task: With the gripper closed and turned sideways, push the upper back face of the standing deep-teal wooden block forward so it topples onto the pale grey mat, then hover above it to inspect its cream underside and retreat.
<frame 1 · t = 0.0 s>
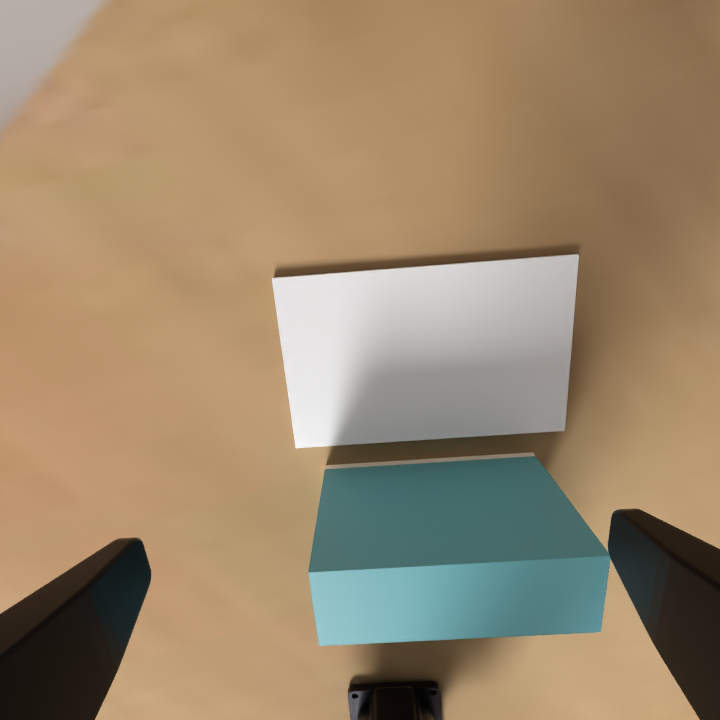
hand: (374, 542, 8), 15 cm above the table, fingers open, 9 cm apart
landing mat: (425, 356, 22), on the table
teal block: (429, 487, 25), on the table
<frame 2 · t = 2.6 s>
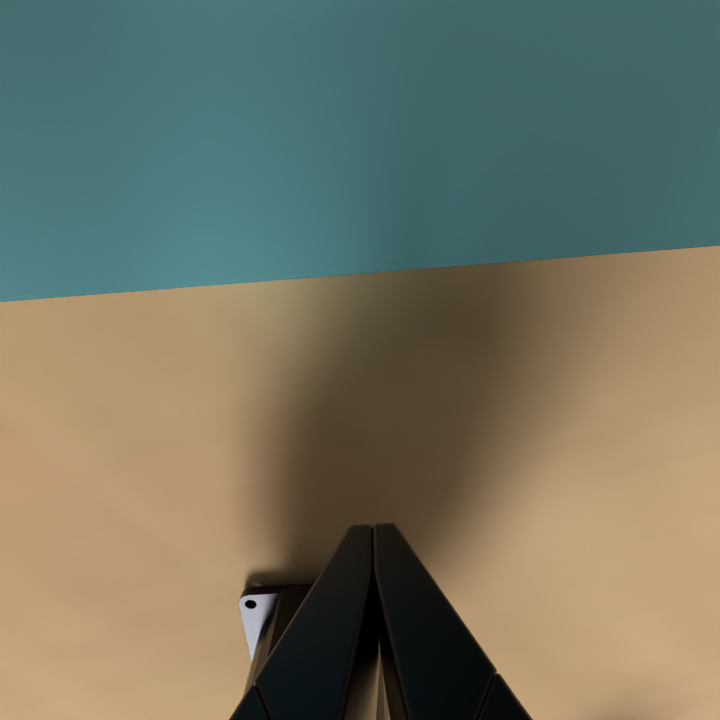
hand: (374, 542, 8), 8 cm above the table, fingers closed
teal block: (354, 179, 13), on the table
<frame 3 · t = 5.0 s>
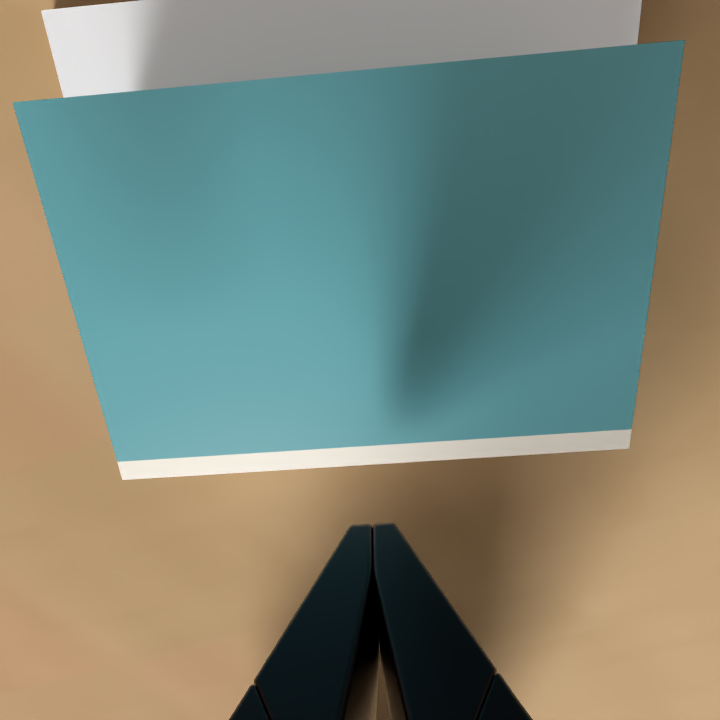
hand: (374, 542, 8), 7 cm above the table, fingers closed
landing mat: (353, 189, 12), on the table
teal block: (369, 425, 12), point 2 cm above the table, tilted 90°, touching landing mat
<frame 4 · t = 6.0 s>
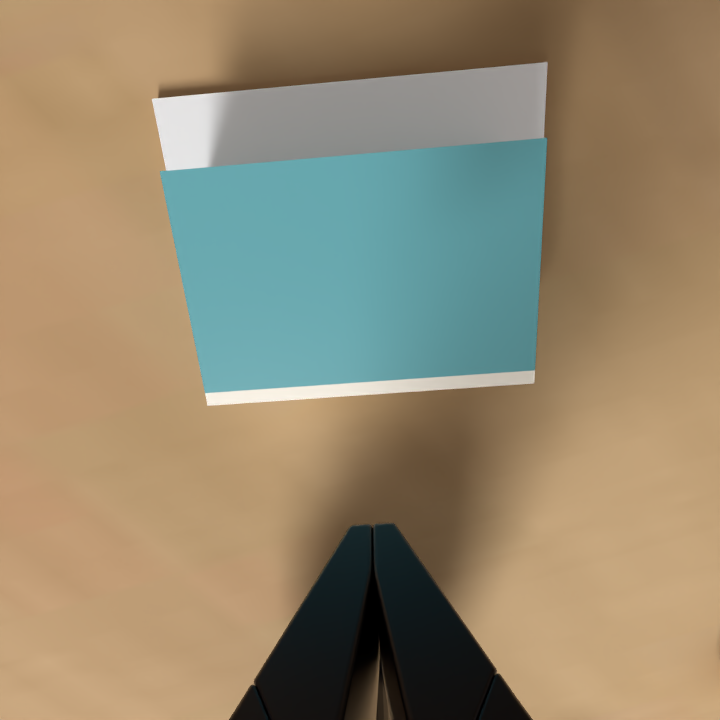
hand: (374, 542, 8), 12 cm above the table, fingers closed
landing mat: (356, 213, 17), on the table
teal block: (368, 376, 17), point 2 cm above the table, tilted 90°, touching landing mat
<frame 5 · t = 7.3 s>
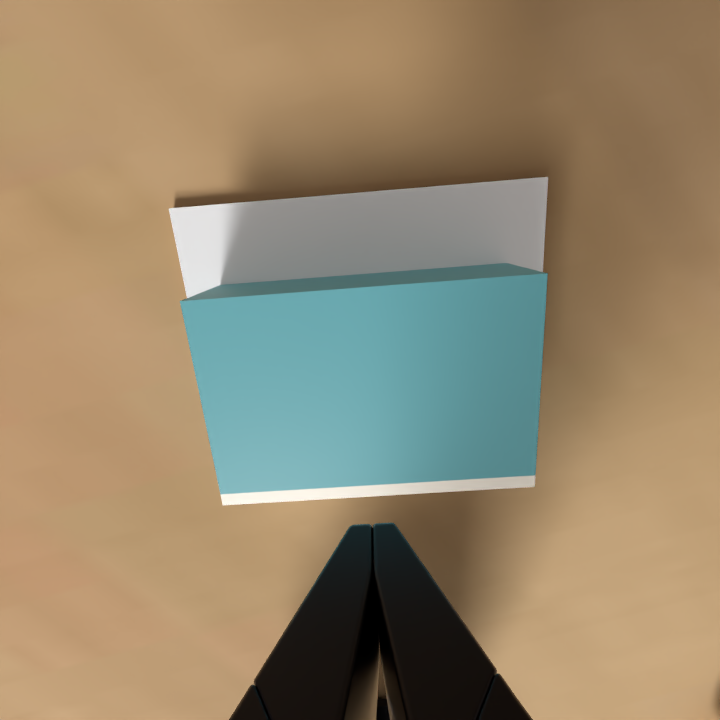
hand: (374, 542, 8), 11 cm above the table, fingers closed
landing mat: (364, 309, 18), on the table
teal block: (375, 467, 18), point 2 cm above the table, tilted 90°, touching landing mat
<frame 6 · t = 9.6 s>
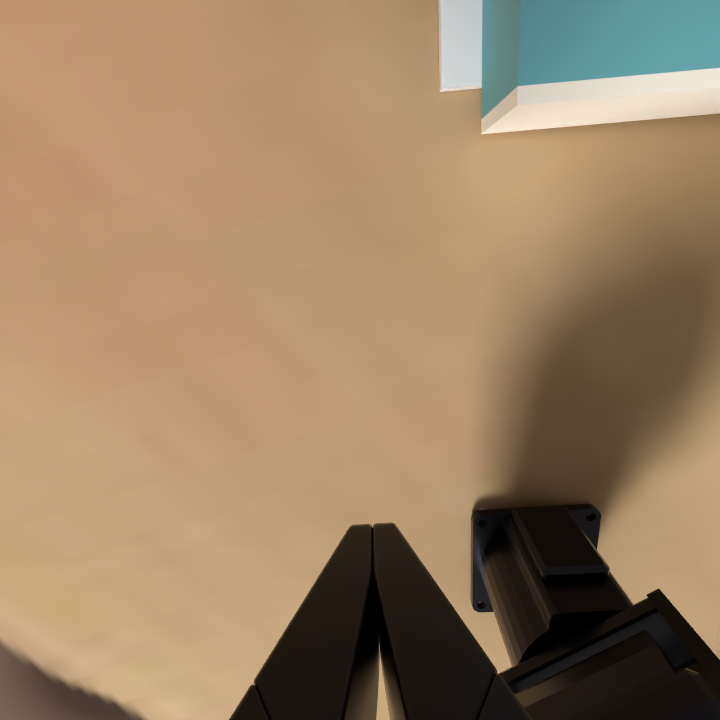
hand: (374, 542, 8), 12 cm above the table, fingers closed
teal block: (675, 105, 14), point 2 cm above the table, tilted 90°, touching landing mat
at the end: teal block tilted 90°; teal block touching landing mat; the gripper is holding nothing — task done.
